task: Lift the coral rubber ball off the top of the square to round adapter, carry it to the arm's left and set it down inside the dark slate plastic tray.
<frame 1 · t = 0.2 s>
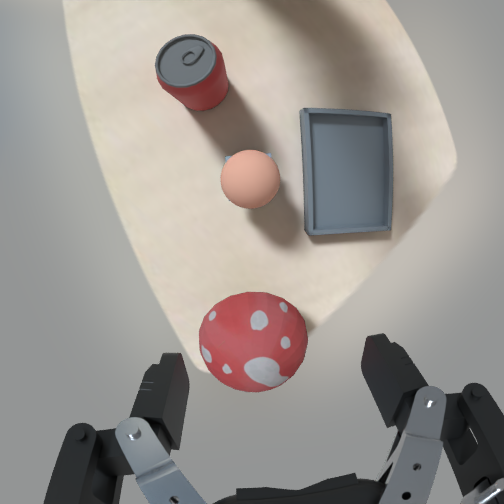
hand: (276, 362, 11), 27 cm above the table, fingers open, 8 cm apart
tray: (346, 170, 35), on the table
decorative mushroom: (251, 304, 42), on the table
beer can: (203, 88, 31), on the table
ball: (249, 176, 31), point 5 cm above the table, touching square to round adapter
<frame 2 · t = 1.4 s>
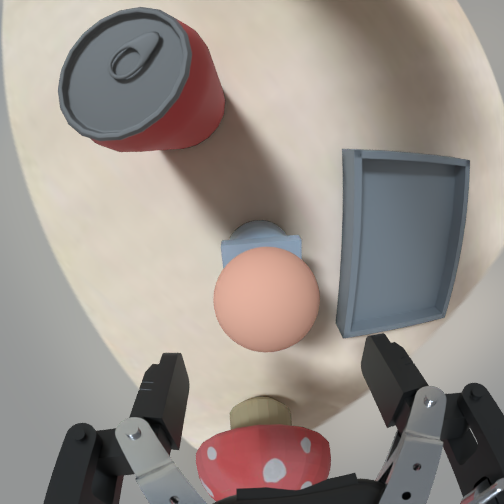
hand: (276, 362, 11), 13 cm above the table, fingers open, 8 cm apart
tray: (400, 240, 23), on the table
square to round adapter: (259, 251, 23), on the table
decorative mushroom: (259, 400, 30), on the table
beer can: (182, 107, 19), on the table
ball: (263, 276, 19), point 5 cm above the table, touching square to round adapter
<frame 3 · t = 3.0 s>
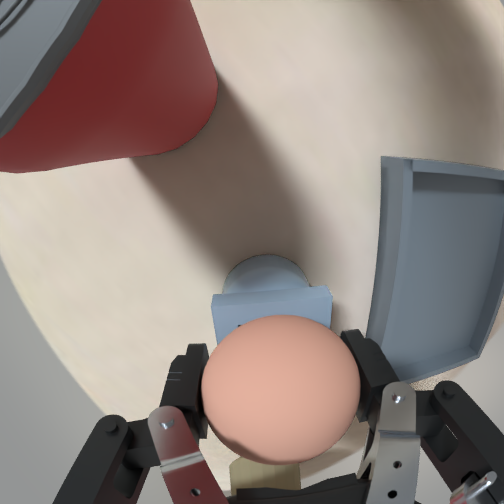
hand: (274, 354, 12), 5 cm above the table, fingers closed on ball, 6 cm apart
tray: (442, 274, 17), on the table
square to round adapter: (266, 295, 17), on the table
decorative mushroom: (263, 449, 24), on the table
beer can: (158, 96, 13), on the table
ball: (273, 343, 13), point 5 cm above the table, touching square to round adapter, gripper
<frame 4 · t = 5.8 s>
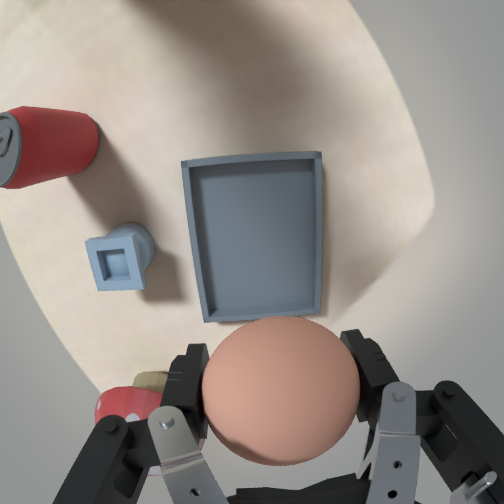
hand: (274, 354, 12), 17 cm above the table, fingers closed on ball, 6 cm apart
tray: (256, 236, 28), on the table
square to round adapter: (131, 246, 28), on the table
decorative mushroom: (162, 377, 35), on the table
beer can: (77, 142, 24), on the table
ball: (273, 344, 13), point 16 cm above the table, touching gripper
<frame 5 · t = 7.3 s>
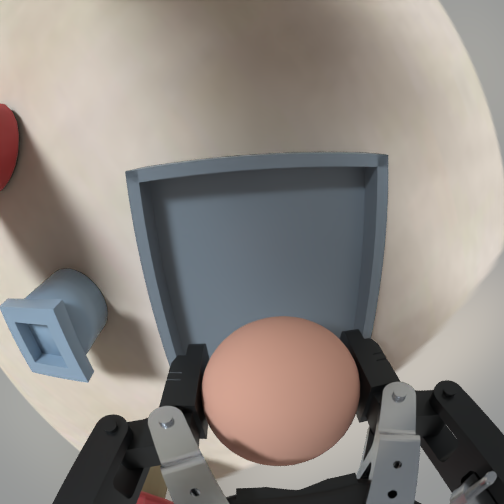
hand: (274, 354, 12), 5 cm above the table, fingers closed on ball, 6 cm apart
tray: (265, 294, 17), on the table
square to round adapter: (75, 302, 16), on the table
decorative mushroom: (143, 446, 23), on the table
ball: (273, 344, 13), point 4 cm above the table, touching gripper
when the fingers open (3 cm above the table, at t = 8.7 s): ball drops 1 cm, resting on tray.
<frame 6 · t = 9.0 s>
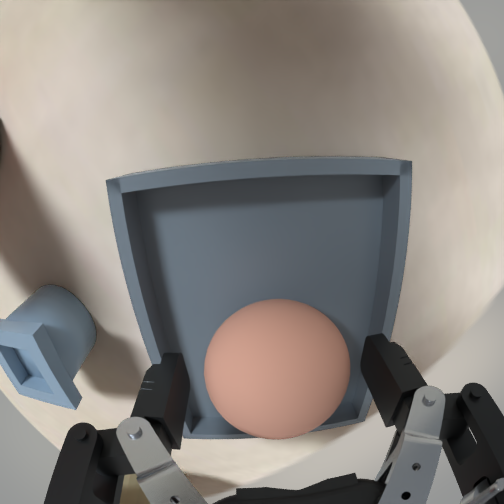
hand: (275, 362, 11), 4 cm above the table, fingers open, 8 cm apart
tray: (268, 316, 15), on the table
square to round adapter: (62, 320, 15), on the table
decorative mushroom: (140, 462, 21), on the table
ball: (271, 328, 14), point 1 cm above the table, touching tray
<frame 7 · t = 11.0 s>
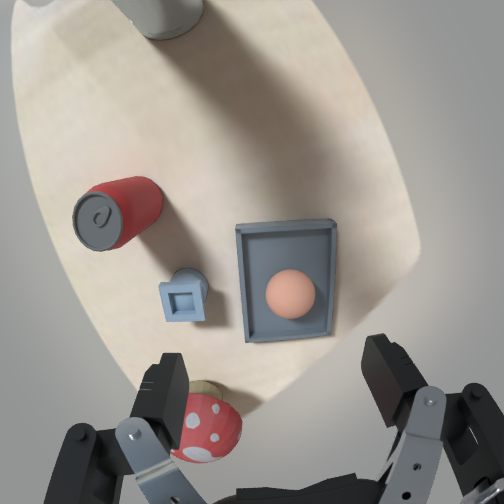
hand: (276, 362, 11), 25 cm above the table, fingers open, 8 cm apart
tray: (286, 280, 37), on the table
square to round adapter: (189, 286, 37), on the table
decorative mushroom: (203, 384, 44), on the table
beer can: (140, 201, 34), on the table
ball: (287, 283, 36), point 1 cm above the table, touching tray
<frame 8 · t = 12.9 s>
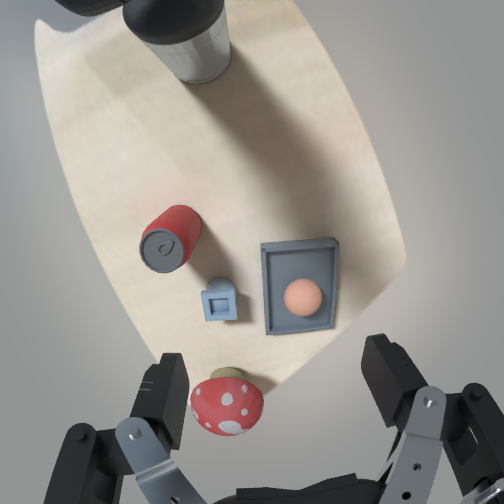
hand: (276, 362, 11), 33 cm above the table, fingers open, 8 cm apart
tray: (298, 285, 47), on the table
square to round adapter: (221, 291, 47), on the table
decorative mushroom: (228, 371, 54), on the table
beer can: (181, 224, 43), on the table
ball: (299, 288, 46), point 1 cm above the table, touching tray
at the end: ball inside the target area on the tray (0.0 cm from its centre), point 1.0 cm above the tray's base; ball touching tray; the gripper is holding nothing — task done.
